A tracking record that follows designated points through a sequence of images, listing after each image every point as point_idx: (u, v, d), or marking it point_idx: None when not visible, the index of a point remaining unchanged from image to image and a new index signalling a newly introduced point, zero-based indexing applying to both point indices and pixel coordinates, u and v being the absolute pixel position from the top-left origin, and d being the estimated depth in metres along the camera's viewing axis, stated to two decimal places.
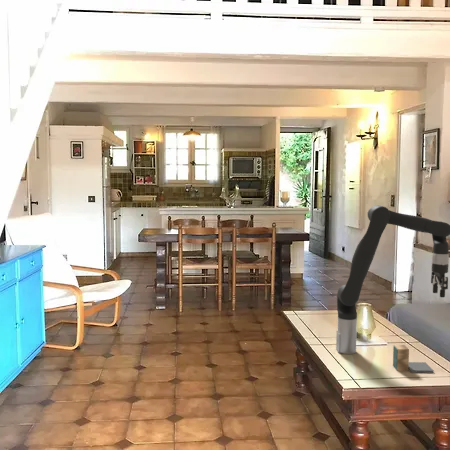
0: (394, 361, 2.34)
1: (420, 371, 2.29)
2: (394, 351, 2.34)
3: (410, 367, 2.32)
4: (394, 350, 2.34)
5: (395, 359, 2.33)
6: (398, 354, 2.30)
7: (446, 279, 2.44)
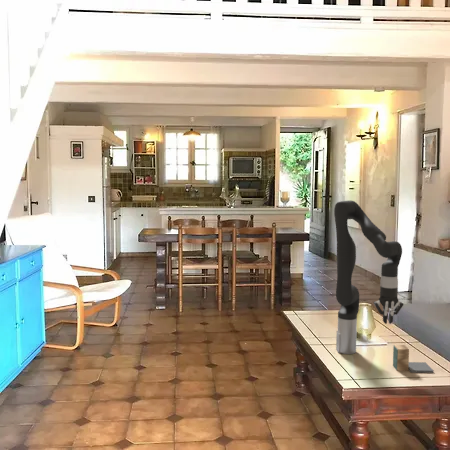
0: (394, 361, 2.34)
1: (420, 371, 2.29)
2: (394, 351, 2.34)
3: (410, 367, 2.32)
4: (394, 350, 2.34)
5: (395, 359, 2.33)
6: (398, 354, 2.30)
7: None
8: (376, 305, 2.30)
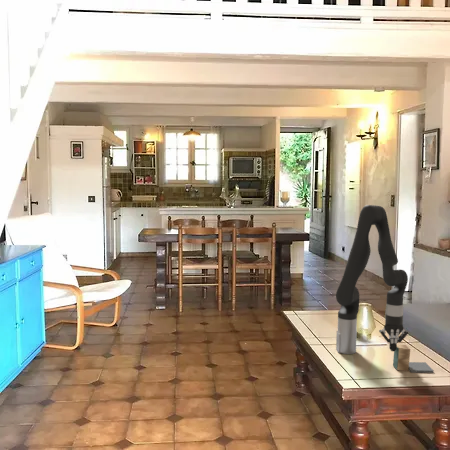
0: (394, 360, 2.34)
1: (420, 371, 2.29)
2: (395, 350, 2.34)
3: (410, 367, 2.32)
4: None
5: (396, 358, 2.33)
6: (399, 354, 2.30)
7: None
8: (382, 333, 2.31)
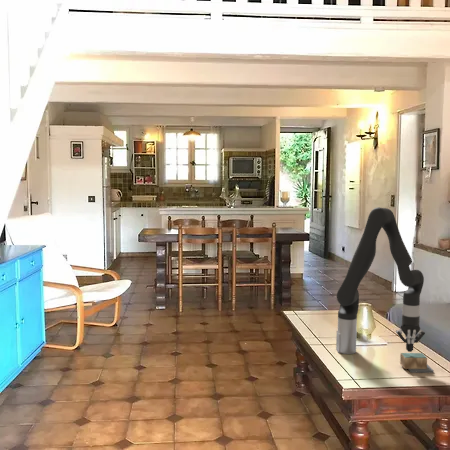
0: (408, 354, 2.34)
1: (420, 371, 2.29)
2: (418, 354, 2.34)
3: None
4: (420, 354, 2.34)
5: (412, 355, 2.32)
6: (421, 358, 2.30)
7: None
8: (398, 334, 2.31)
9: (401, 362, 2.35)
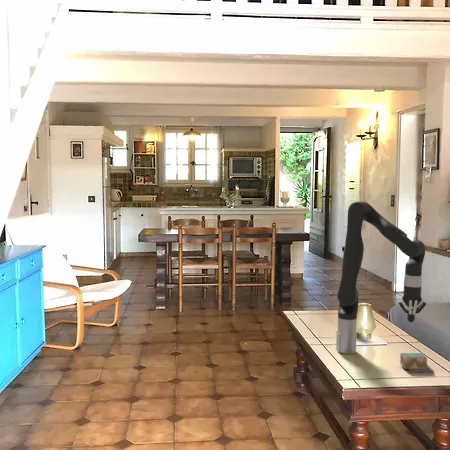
0: (408, 354, 2.34)
1: (420, 371, 2.29)
2: (418, 354, 2.34)
3: None
4: (420, 354, 2.34)
5: (412, 355, 2.32)
6: (421, 358, 2.30)
7: None
8: (400, 304, 2.31)
9: (401, 362, 2.35)
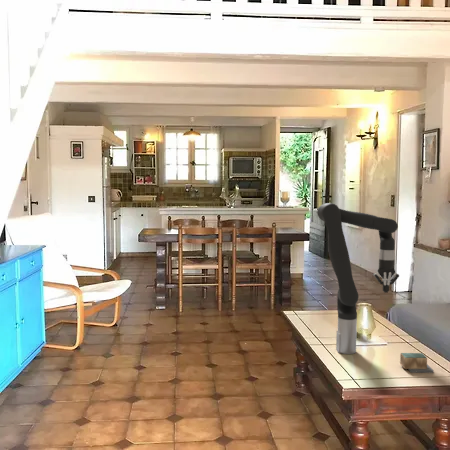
0: (408, 354, 2.34)
1: (420, 371, 2.29)
2: (418, 354, 2.34)
3: None
4: (420, 354, 2.34)
5: (412, 355, 2.32)
6: (421, 358, 2.30)
7: None
8: (376, 276, 2.56)
9: (401, 362, 2.35)
